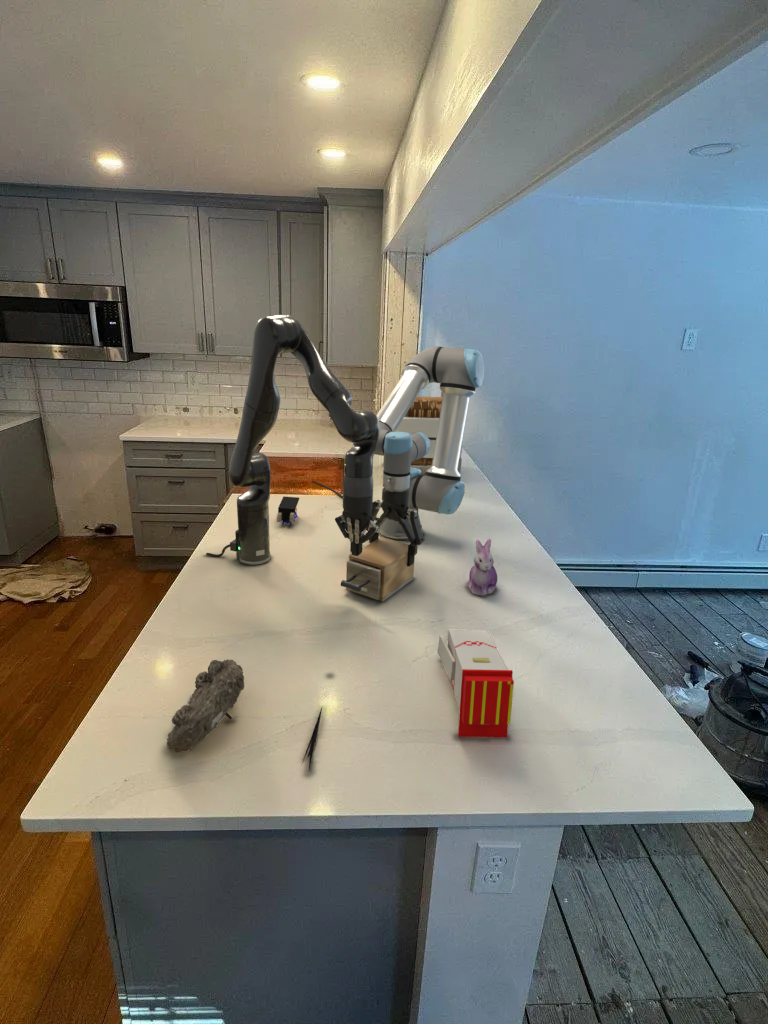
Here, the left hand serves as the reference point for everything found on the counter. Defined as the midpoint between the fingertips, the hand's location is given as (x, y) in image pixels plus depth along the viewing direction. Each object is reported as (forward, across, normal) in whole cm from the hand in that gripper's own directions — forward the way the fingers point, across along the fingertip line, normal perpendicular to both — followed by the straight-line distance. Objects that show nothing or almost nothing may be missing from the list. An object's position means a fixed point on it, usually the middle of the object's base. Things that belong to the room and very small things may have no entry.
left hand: (356, 554), depth 148 cm
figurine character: (+14, -54, +35) cm, 65 cm away
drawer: (+13, 0, +8) cm, 15 cm away
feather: (+14, +21, -42) cm, 49 cm away
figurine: (+14, +25, +28) cm, 40 cm away
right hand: (+8, 0, +19) cm, 21 cm away
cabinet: (+14, 0, +14) cm, 19 cm away
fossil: (+14, +4, -53) cm, 55 cm away
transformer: (+14, -48, +124) cm, 133 cm away
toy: (+14, +41, -17) cm, 47 cm away
